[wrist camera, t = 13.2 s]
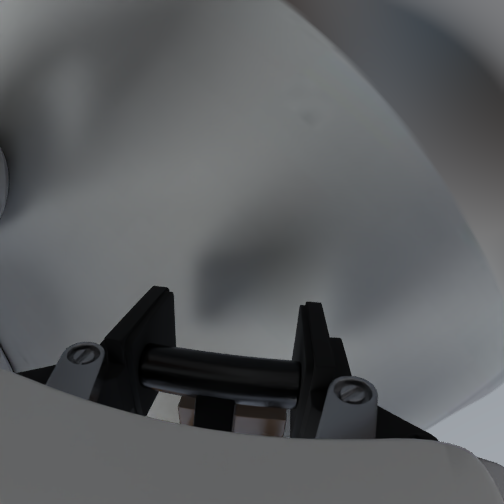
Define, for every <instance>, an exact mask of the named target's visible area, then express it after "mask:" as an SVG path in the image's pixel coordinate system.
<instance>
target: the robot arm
mask: <svg viewBox="0 0 504 504" xmlns="http://www.w3.org/2000/svg"><path fill="white" fill-rule="evenodd" d="M148 343H155V344H161V345H167V346H173V347H176V336H175V317H174V295H173V292H169V289H168V288H167V287H159V286H153V287H152V288H151V289H150V290H149V291H148V292H147V293H146V294H145V295H144V296H143V297H142V298H141V299H140V300H139V301H138V303H137V304H136V305H135V306H134V307H133V308H132V309H131V310H130V311H129V312H128V313H127V314H126V315H125V316H124V317H123V318H122V320H121V321H120V322H119V323H118V324H117V325H116V326H115V327H114V328H113V329H112V330H111V331H110V333H109V334H108V335H107V336H106V337H105V339H104V340H103V341H102V342H101V343H100V345H99V344H97V343H93V342H80V343H76V344H73V345H71V346H69V347H68V348H66V350H65V351H64V352H63V354H62V355H61V357H60V359H59V361H58V363H57V364H56V365H53V366H49V367H44V368H39V369H35V370H30V371H25V372H20V373H13V372H11V371H8V370H5V369H2V368H0V504H504V467H503V466H501V465H499V464H497V463H494V462H491V461H488V460H485V459H482V458H478V457H476V456H475V455H474V454H473V453H472V452H470V451H468V450H466V449H465V448H462V447H460V446H457V445H453V444H450V443H444V442H439V441H438V440H437V438H435V437H434V436H433V435H431V434H429V433H428V432H426V431H424V430H422V429H420V428H418V427H416V426H414V425H412V424H410V423H408V422H407V421H405V420H403V419H401V418H399V417H397V416H395V415H394V414H392V413H390V412H388V411H386V410H384V409H383V408H381V407H379V406H377V403H378V394H377V390H376V388H375V387H374V385H373V384H371V383H370V382H369V381H367V380H365V379H363V378H359V377H356V376H351V372H350V368H349V364H348V361H347V357H346V353H345V350H344V346H343V343H342V340H341V338H332V337H329V333H328V329H327V324H326V320H325V316H324V312H323V308H322V304H321V303H317V302H306V305H300V309H299V316H298V323H297V330H296V336H295V343H294V349H293V356H292V361H300V363H301V387H300V395H299V400H298V404H297V407H296V409H290V438H285V437H272V436H261V435H251V434H242V433H233V432H226V431H219V430H212V429H206V428H199V427H194V426H188V425H183V424H178V423H173V422H168V421H163V420H159V419H154V418H150V417H146V415H147V413H148V411H149V409H150V407H151V405H152V404H153V402H154V400H155V398H156V396H157V394H158V392H159V391H154V390H150V389H145V388H143V387H142V386H141V385H140V382H139V376H138V368H139V361H140V357H141V354H142V351H143V349H144V347H145V346H146V345H147V344H148Z"/></svg>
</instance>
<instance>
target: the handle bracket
mask: <svg viewBox="0 0 504 504" xmlns="http://www.w3.org/2000/svg"><path fill="white" fill-rule="evenodd" d="M195 401H196V398H191V397H185V396H182V397H181V400H180V402H179V405H178V411H179V419H180V424H183V425H188V426H193V422H194V411H195ZM286 412H287V409H282V408H269V407H258V406H249V405H240V404H237V410H236V419H235V428H234V433H242V434H251V435H261V436H272V437H283V434H284V429H285V424H286Z"/></svg>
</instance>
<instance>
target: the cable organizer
mask: <svg viewBox="0 0 504 504" xmlns="http://www.w3.org/2000/svg"><path fill="white" fill-rule="evenodd" d="M8 190H9V173H8V166H7V162H6V158H5V156H4V153H3V151H2V149H1V147H0V219H1V216H2V213H3V211H4V208H5V204H6V201H7V196H8Z"/></svg>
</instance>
